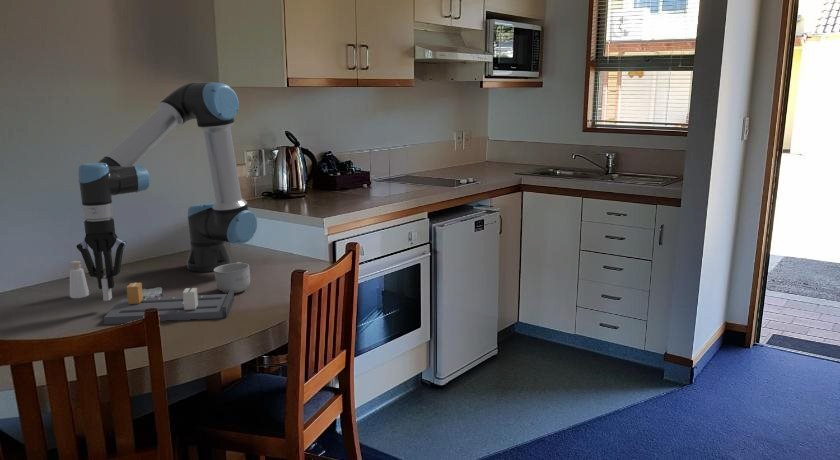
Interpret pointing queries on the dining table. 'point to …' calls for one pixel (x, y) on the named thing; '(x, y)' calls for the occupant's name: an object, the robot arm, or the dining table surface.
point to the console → (172, 308)
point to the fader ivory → (190, 298)
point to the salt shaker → (78, 281)
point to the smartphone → (152, 292)
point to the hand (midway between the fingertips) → (107, 299)
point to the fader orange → (134, 293)
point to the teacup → (232, 277)
